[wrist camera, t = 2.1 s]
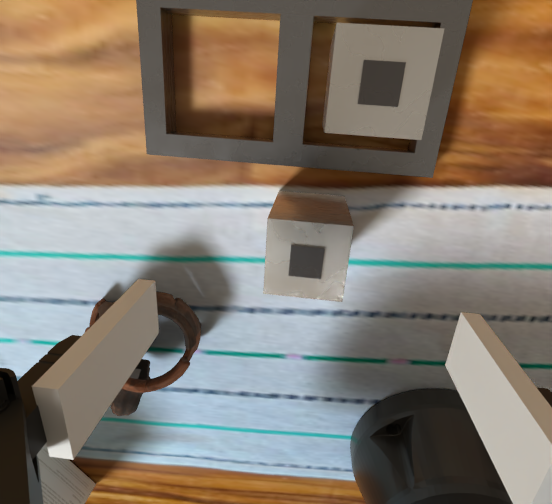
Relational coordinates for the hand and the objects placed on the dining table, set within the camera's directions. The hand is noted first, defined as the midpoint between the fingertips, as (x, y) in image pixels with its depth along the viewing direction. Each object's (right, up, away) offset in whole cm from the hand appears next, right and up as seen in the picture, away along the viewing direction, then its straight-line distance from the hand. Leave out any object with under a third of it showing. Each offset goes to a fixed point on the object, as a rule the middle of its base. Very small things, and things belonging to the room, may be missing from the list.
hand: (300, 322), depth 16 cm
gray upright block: (+5, +14, +9) cm, 18 cm away
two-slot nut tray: (0, +15, +9) cm, 17 cm away
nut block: (+1, +5, +13) cm, 14 cm away
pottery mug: (-13, -4, +19) cm, 23 cm away
